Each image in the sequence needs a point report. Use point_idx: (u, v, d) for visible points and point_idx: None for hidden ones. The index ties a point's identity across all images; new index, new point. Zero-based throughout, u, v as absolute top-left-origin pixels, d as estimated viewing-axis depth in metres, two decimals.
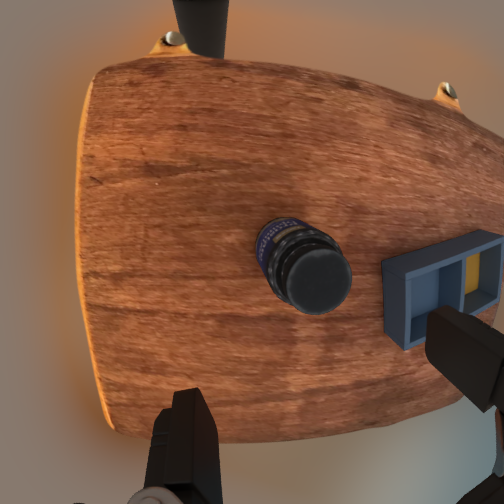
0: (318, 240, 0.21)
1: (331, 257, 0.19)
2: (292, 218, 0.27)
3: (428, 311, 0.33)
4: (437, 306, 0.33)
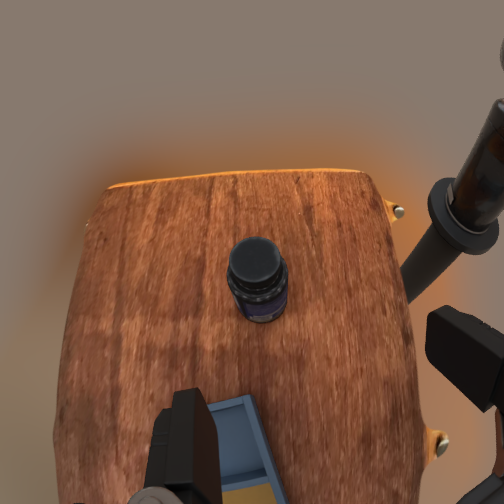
0: (282, 272, 0.28)
1: (274, 262, 0.26)
2: None
3: None
4: None
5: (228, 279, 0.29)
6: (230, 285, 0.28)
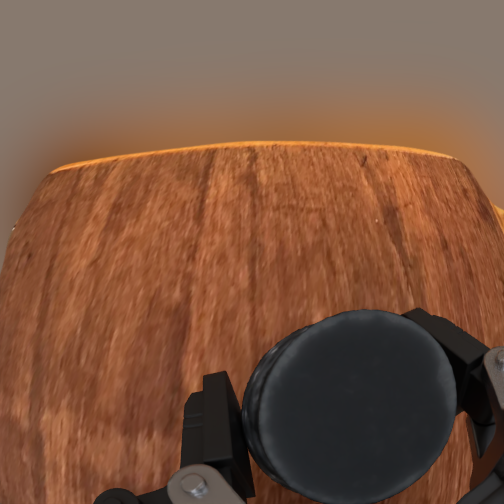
0: None
1: (440, 418, 0.05)
2: None
3: None
4: None
5: (247, 435, 0.07)
6: (254, 454, 0.07)
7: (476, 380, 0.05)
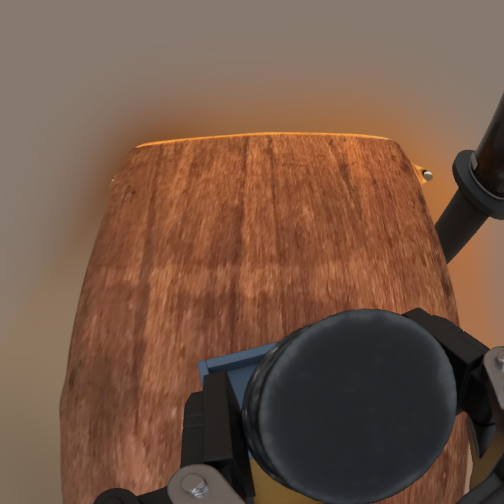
0: None
1: (440, 417, 0.05)
2: None
3: None
4: None
5: (247, 435, 0.07)
6: (254, 454, 0.07)
7: (475, 380, 0.05)
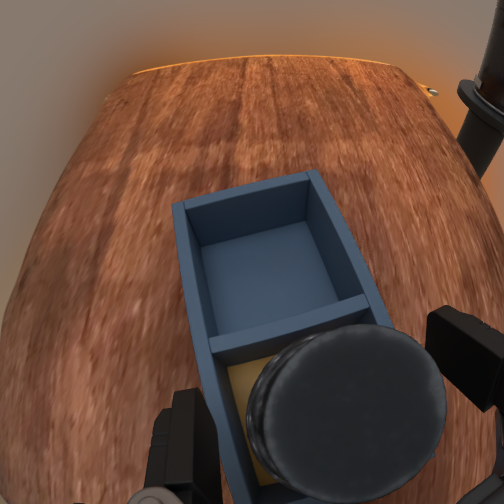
0: None
1: (430, 424, 0.05)
2: None
3: (217, 326, 0.18)
4: None
5: (251, 438, 0.08)
6: (258, 456, 0.08)
7: None
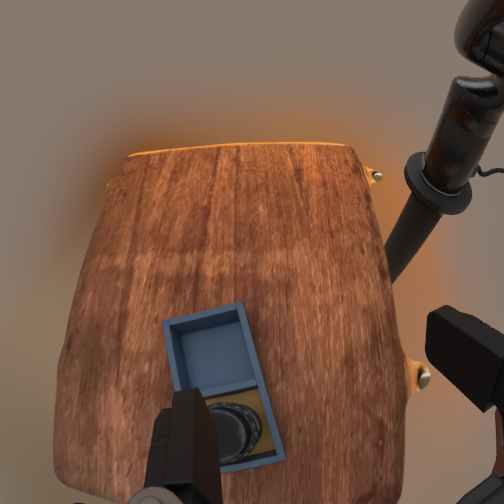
0: (249, 438, 0.22)
1: (238, 442, 0.20)
2: (261, 430, 0.28)
3: (189, 381, 0.33)
4: None
5: None
6: None
7: None
